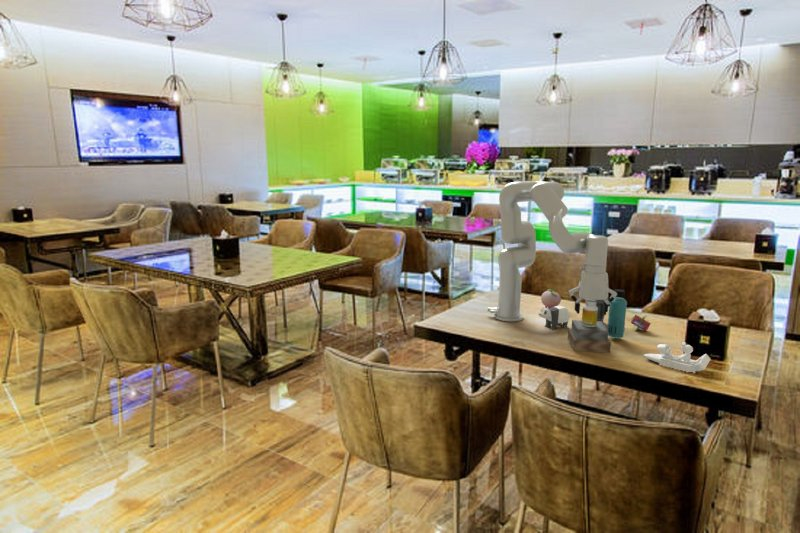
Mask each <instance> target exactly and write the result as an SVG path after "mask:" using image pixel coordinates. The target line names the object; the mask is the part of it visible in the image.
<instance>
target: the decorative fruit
mask: <svg viewBox="0 0 800 533" xmlns="http://www.w3.org/2000/svg"><path fill="white" fill-rule="evenodd" d="M540 301H541V303H542V304H543V305H544V307H545V306H547V308H548V307H549V308H552V307H555V306H560V304H561V302H562V297H561V295H560V293H558V292H556V291H554V290H553V289H552V288H550V289H547V290H546V291H544V292H542V294H541V296H540Z"/></svg>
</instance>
